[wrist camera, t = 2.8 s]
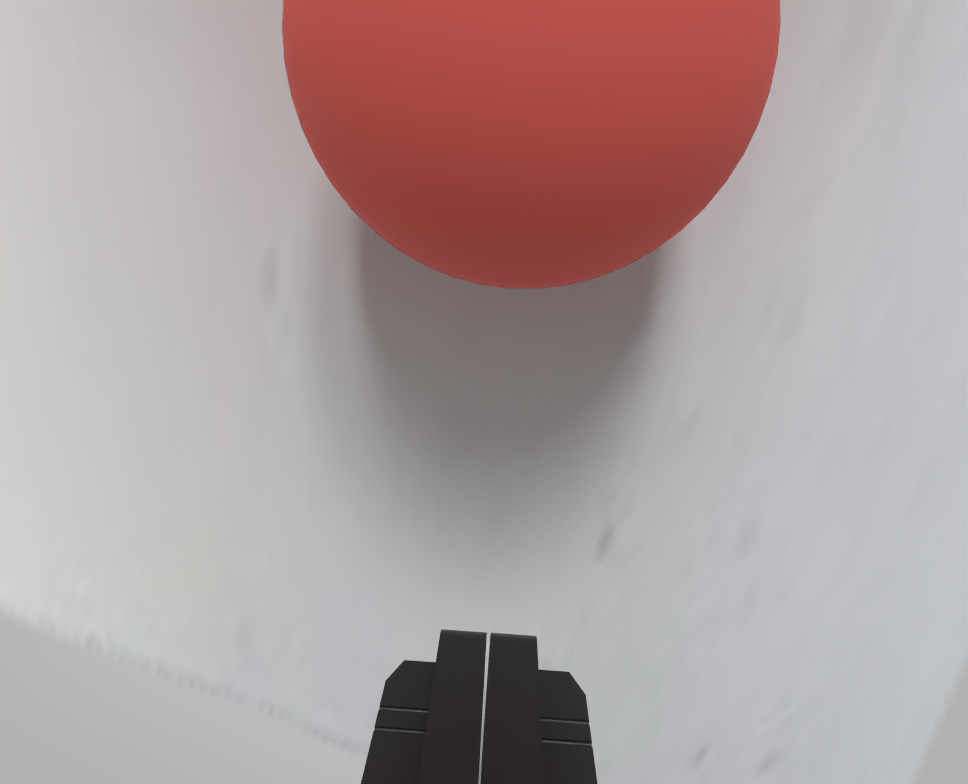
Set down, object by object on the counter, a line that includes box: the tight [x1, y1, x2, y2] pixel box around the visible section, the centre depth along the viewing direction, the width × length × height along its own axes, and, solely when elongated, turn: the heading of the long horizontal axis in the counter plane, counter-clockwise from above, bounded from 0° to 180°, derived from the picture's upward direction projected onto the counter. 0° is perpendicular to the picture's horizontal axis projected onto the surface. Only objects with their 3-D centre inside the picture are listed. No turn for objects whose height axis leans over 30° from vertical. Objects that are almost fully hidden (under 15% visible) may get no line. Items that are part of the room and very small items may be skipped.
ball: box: [282, 0, 780, 288], centre depth 10 cm, size 6×6×6 cm
